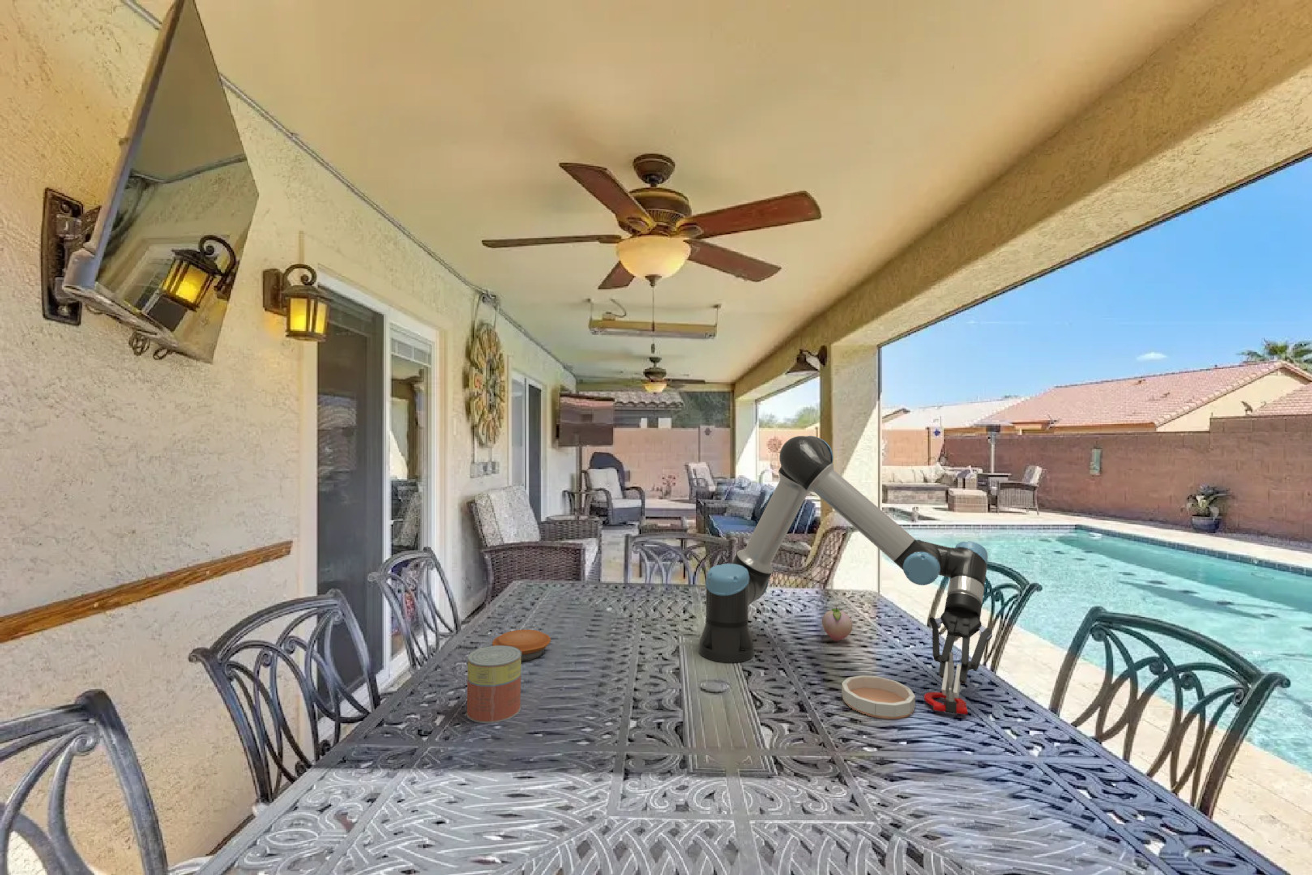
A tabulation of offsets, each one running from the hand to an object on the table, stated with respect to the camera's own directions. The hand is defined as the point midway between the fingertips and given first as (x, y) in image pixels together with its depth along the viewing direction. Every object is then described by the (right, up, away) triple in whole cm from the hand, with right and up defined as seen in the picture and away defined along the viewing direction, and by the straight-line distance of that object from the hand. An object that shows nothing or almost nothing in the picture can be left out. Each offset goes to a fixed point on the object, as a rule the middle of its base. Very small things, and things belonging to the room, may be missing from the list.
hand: (949, 693), depth 125 cm
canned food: (-99, -4, -1) cm, 99 cm away
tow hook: (+1, -4, +4) cm, 6 cm away
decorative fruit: (-10, -5, +46) cm, 47 cm away
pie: (-100, -4, +32) cm, 105 cm away
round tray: (-13, -5, +6) cm, 15 cm away
